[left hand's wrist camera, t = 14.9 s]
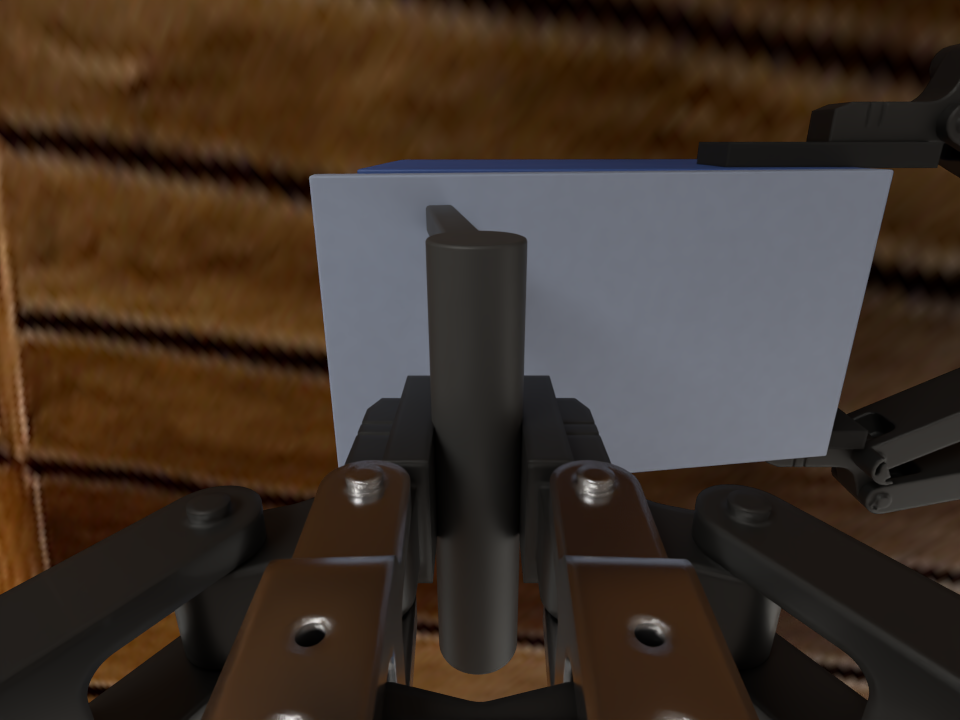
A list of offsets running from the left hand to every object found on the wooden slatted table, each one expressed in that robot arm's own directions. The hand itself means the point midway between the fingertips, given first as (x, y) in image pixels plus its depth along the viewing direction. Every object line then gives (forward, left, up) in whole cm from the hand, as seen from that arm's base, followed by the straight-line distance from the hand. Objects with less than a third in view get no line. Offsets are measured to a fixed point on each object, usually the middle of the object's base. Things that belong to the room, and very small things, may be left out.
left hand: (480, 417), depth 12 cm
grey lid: (-1, +3, -6) cm, 7 cm away
